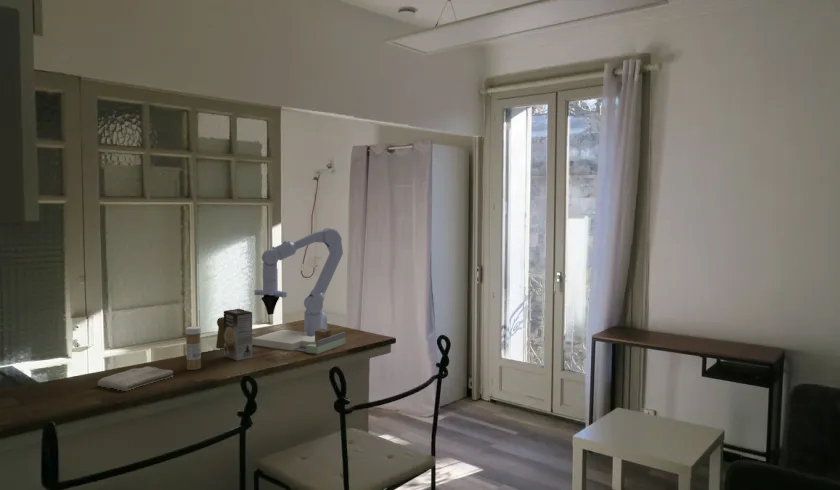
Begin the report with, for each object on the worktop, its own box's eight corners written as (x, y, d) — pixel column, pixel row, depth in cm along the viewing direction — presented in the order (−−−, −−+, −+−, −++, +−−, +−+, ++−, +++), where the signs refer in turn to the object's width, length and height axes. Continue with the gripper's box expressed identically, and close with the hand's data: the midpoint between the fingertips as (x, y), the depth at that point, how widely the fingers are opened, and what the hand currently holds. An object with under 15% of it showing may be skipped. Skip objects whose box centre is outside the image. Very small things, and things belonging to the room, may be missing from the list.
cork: (235, 345, 225) (235, 316, 224) (229, 348, 219) (228, 319, 218) (220, 344, 226) (219, 315, 225) (213, 348, 220) (212, 318, 219)
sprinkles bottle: (200, 366, 196) (199, 325, 195) (202, 369, 192) (201, 328, 191) (185, 367, 194) (184, 326, 193) (186, 371, 190) (186, 329, 189)
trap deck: (282, 335, 242) (282, 324, 242) (345, 343, 229) (345, 332, 228) (252, 344, 226) (252, 333, 225) (317, 353, 213) (317, 341, 212)
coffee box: (223, 356, 209) (222, 310, 208) (239, 352, 213) (239, 308, 212) (236, 360, 202) (236, 314, 201) (253, 357, 207) (253, 311, 206)
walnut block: (321, 339, 225) (321, 328, 225) (331, 340, 223) (331, 329, 223) (315, 341, 221) (314, 330, 221) (324, 342, 219) (324, 331, 219)
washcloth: (176, 377, 184) (176, 368, 184) (125, 394, 168) (125, 383, 167) (148, 373, 189) (148, 363, 189) (96, 388, 173) (96, 378, 172)
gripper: (249, 280, 236) (249, 314, 237) (278, 282, 230) (278, 317, 231) (261, 278, 243) (261, 311, 244) (289, 280, 236) (290, 314, 237)
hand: (270, 314), depth 238 cm, fingers closed
